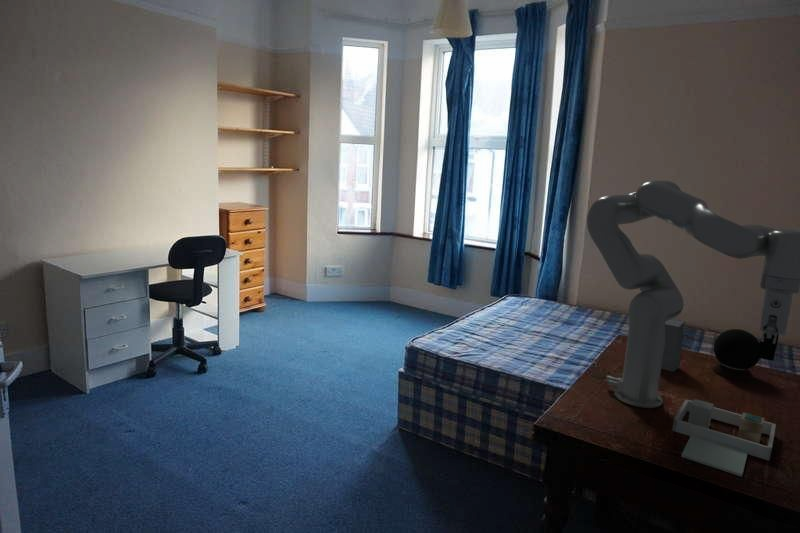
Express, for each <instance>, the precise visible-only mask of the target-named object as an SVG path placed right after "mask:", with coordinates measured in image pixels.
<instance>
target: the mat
mask: <svg viewBox="0 0 800 533" xmlns="http://www.w3.org/2000/svg"><path fill="white" fill-rule="evenodd" d="M748 455H749V454H748V452H746V451H743V450H740V449H736V448H733V447H730V446H727V445H723V444H720V443H717V442H714V441H710V440H707V439H704V438H701V437H698V436H694V435H691V436H689V439H688V441H687V442H686V444H685V446H684V449H683V451H682V453H681V456H680V457H681V458H684V459H687V460H690V461H693V462H696V463H698V464H702V465H706V466H708V467H711V468H713V469H717V470H719V471H720V470H721V471H723V472H725V473H726V472H727V473H729V474H733V475H735V476H738V477H743V474H744V471H745V465H746V462H747V461H746V460H747V458H748Z"/></svg>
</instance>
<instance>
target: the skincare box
mask: <svg viewBox="0 0 800 533" xmlns="http://www.w3.org/2000/svg"><path fill="white" fill-rule="evenodd" d="M684 330H685V322H683V321H680V320H673V319H670V320H668V321H666V322H665V335H666V338H665V347H664V354H663V360H662V367H661V370H663V371H664V370H665V371H667V372H673V373H675V372H676V371H677V370H678V368H680V365H681V359H682V349H683V340H684Z"/></svg>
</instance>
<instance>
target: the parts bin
mask: <svg viewBox="0 0 800 533" xmlns="http://www.w3.org/2000/svg"><path fill="white" fill-rule="evenodd" d="M692 402H693V400H690V399H687V398H686V399H685V400H684V402H683V403H682V405H681V407H680V408H679V410H678V412H677V413H676V415H675V417H674V419H673V422H672V428H671V431H672V432H675V433H679V434H681V435H685V436H688V437H690V436H691V435H694V436H698V437H701V438H704V439H707V440H710V441H714V442H717V443H720V444H723V445H727V446H730V447H733V448H736V449H740V450H743V451H746V452H748V454H747V455H749V456H752V457H756V458H759V459H762V460H766V461H768V462H770V459H771V455H772V449H773V444H774V440H775V439H774V437H775V434H776V428H777V427H776V426H777V424H776V423H773V422H770V421H765V420H764V423H763V428H762V432H761V434H763V435H768V436H769V438H768V443H767V445H764V444H762V443H759V444H758V443H755V442H752V441H748V440H745V439H742V438H738V436H735V435H732V434H727V433H724V432H721V431H718V430H716V429H715V430H714V429H711V428H709V429H708V428H705V427H701V426H698V425H695V424H691V423H688V421H684V420H683V419H684V416H685V415H686V413H687V412H689V413H690V408H691V404H692ZM741 417H742V414H740V413H736V412H733V411H731V410H726V409H722V408H718V407H716V406H713V410H712V416H711V420H712V419H713V420H716V421H719V422H722V423H725V424H729V425H733V426H736V427H740V422H741Z"/></svg>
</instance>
